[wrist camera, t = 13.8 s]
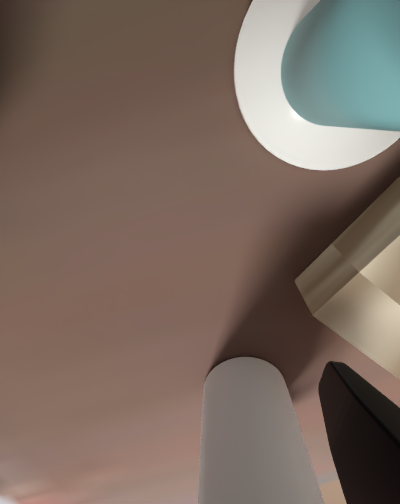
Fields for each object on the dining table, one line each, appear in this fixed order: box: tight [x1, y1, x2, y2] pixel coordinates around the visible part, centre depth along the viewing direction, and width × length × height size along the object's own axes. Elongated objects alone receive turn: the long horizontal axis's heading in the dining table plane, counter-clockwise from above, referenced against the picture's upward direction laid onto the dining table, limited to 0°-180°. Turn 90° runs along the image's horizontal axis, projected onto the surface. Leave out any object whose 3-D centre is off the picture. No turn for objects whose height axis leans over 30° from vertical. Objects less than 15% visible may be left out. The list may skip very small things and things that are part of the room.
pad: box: [234, 0, 400, 170], centre depth 16 cm, size 10×10×1 cm
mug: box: [198, 357, 324, 504], centre depth 20 cm, size 10×7×12 cm, turn 17°
